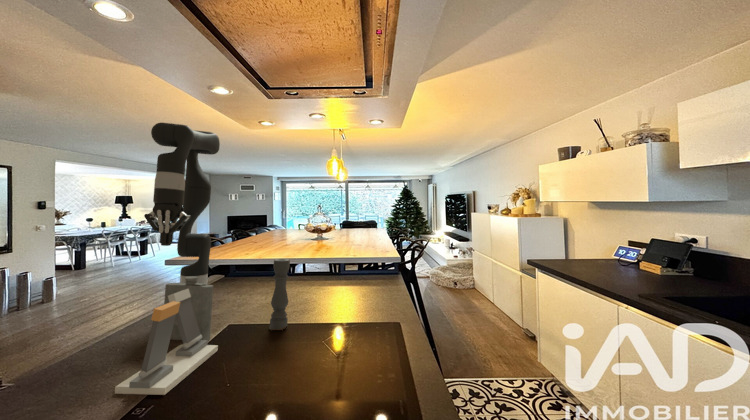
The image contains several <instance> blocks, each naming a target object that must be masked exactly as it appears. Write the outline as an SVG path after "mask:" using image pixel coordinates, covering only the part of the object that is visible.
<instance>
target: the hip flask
mask: <svg viewBox="0 0 750 420" xmlns="http://www.w3.org/2000/svg"><path fill="white" fill-rule="evenodd" d="M185 280H186V283H180V282H169V283H165V286H164V287H165V289H164V301H163V303H164V304H163V305H165V304H167V303H170V302H169V299H168V296H169V295H171V294H174V293H177V292H180V291H183V290H186V289H189V292H190V295H191V297H190V300H191V304H192V307H193V310H194V314H195V317H196V321H197V324H198V328H199V331H200V334H201V335H202V339H200V340H208V342H210V340H211V328H212V316H213V315H212V313H213V311H212V310H213V298H214V285H213V284H208V283H207V284H202V283H197V281H196V280H198V277H195V276H192V277H185ZM171 340H173V341H174V340H176V341H182V338H181V334H180V331H179V327H178V324H177V320H176V317H175V321H174V325H173V329H172V334H171V338H170V341H171Z"/></svg>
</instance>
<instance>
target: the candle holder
mask: <svg viewBox="0 0 750 420" xmlns="http://www.w3.org/2000/svg"><path fill="white" fill-rule="evenodd" d="M290 261H291V260H290V259H288V258H276V259H273V270H274V274H275V275H273V280H274V282H275V283H274V284H275V285H274V289H273V295H272V297H271V301H270V304H271V307H272V310H273V311H272V313H271V315H270V319H269V330H270V329H281V328H284V327H286V326H287V327H288V322H289V321H288V320H289V319H288V314H287V312H286V308H287V307H288V304H289V298H288V292H287V291H288V290H287V279H289V275H288V272H289V269H290V266H291V265H290V263H291V262H290Z"/></svg>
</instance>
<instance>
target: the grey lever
mask: <svg viewBox="0 0 750 420" xmlns="http://www.w3.org/2000/svg"><path fill="white" fill-rule="evenodd" d="M190 297H191V295H190V292H189V289H186V290H183V291H180V292H177V293H174V294H171V295H169V296H168V299H169V302H172V301H176V302H181V303H180V307H179V311H178V313H177V314H176V320H177V324H178V327H179V331H180V334H181V338H182V340H181V341H182V344H183V348H184V349H187V348H189V347H190V346H192V345H193V344H195V343H196V342H197V341H199V340H200V339H202V335H201V334H200V331H199V328H198V324H197V321H196V317H195V314H194V310H193V307H192V304H191V300H190Z"/></svg>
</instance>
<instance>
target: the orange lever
mask: <svg viewBox="0 0 750 420" xmlns="http://www.w3.org/2000/svg"><path fill="white" fill-rule="evenodd" d="M180 303H181V302H176V301H172V302H170V303H167V304H165V305H164V304H163V305H159V306H157V307H155V308H153V311H152V315H151V321H152V324H151V327H150V332H149V336H148V339H147V344H146V348H145V354H144V356H143V362H142V365H141V369H140V370H141V372H140V373H139V378H141V379H143V378H145V377H146V376H148V375H149V374H151V373H152V372H154V371H155V370H157V369H158V368H160V367H161V366H162V365H164V364H165V363H166V355H167V353H168V350H169V346H170V342H171V340H170V338H171V334H172V329H173V325H174V321H175V317H176V314H177V313H178V311H179V307H180Z"/></svg>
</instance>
